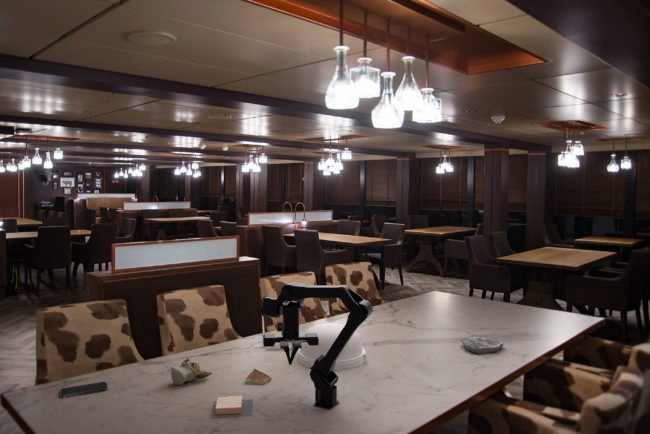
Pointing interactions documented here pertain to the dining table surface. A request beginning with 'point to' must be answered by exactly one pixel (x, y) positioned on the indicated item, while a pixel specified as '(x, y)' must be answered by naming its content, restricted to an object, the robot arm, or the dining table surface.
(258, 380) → the shard
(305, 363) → the dome cover
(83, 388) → the phone
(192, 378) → the ceramic sculpture
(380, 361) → the dining table surface
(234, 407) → the tile
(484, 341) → the flat grey rock
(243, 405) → the mat
